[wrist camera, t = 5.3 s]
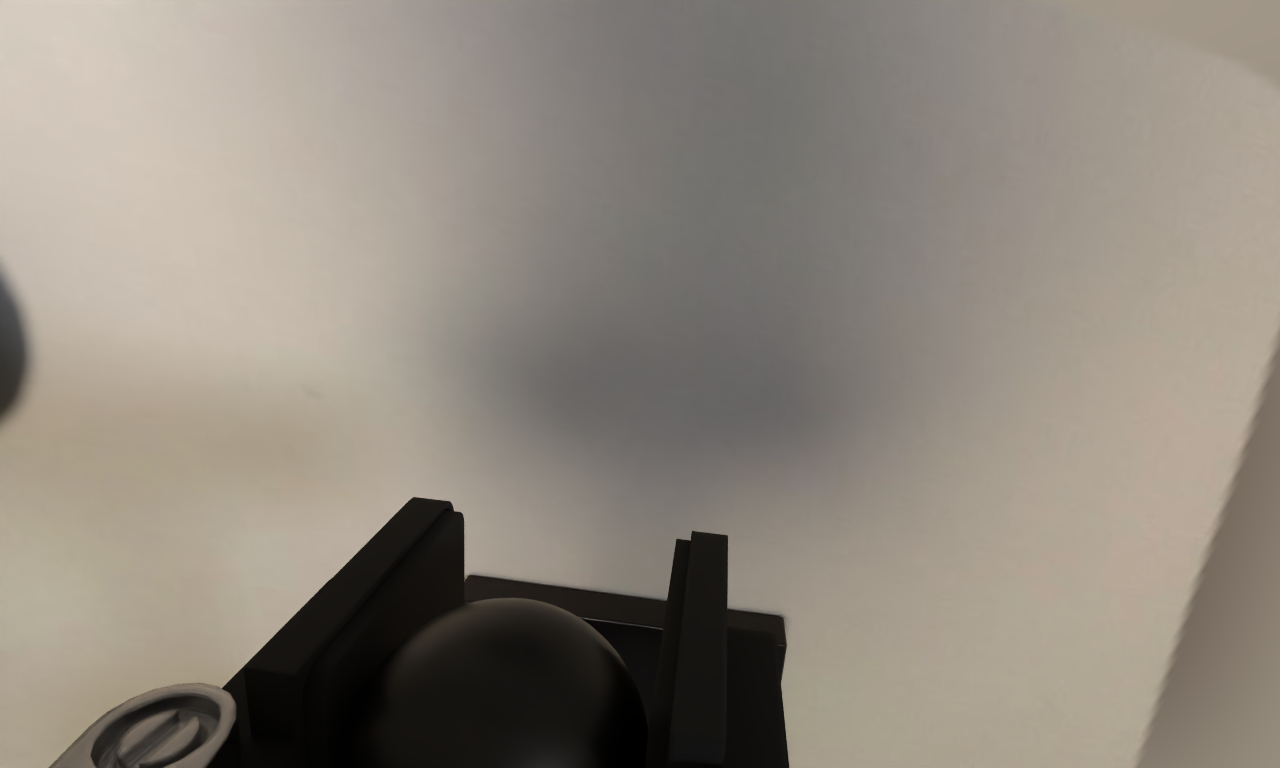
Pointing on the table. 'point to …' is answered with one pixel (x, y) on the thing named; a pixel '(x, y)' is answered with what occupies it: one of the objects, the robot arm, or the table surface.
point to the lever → (499, 695)
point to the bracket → (619, 623)
